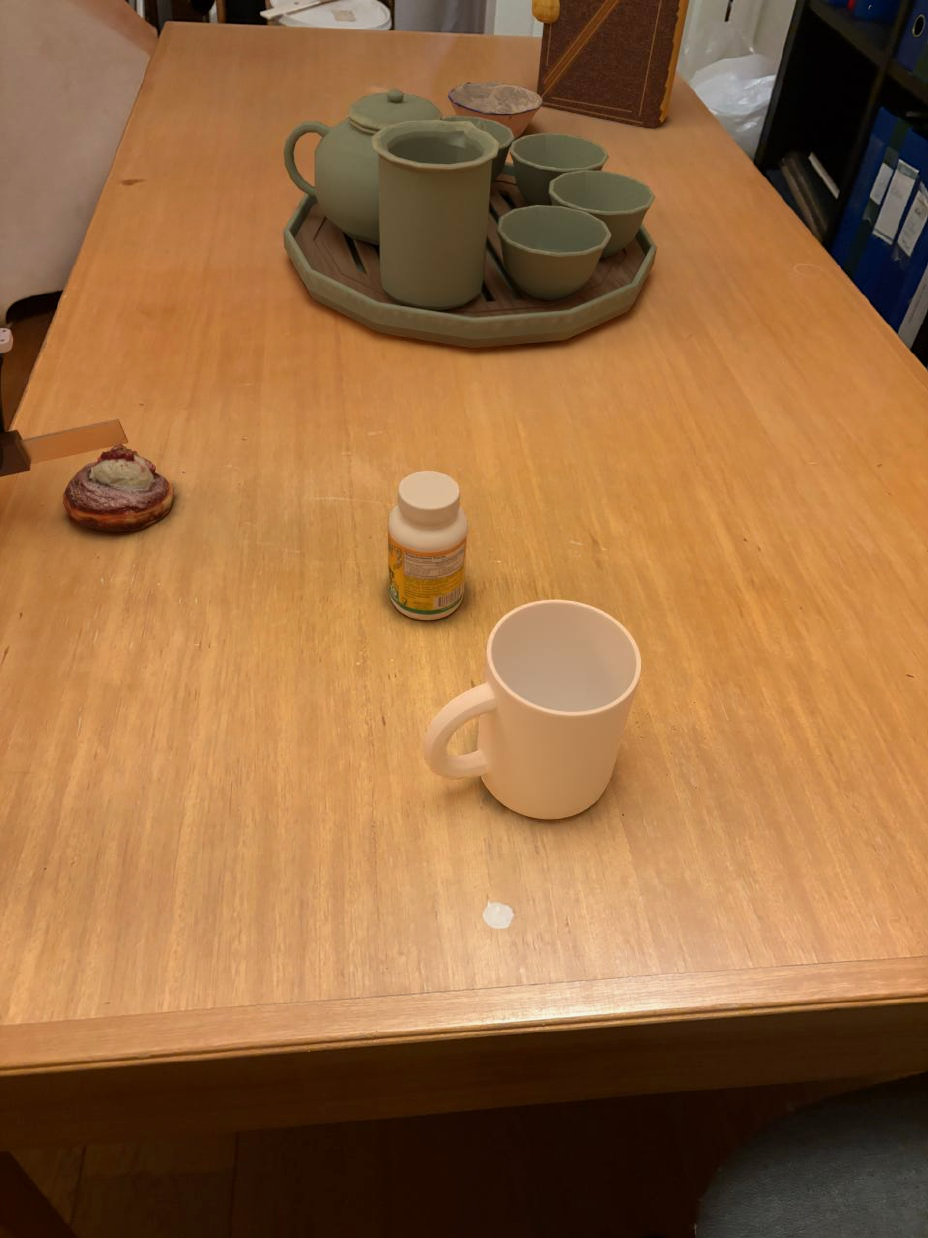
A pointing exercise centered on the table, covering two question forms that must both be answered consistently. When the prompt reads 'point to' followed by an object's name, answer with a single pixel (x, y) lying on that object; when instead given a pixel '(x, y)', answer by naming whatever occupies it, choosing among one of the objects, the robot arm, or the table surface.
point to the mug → (544, 709)
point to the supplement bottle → (427, 546)
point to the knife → (57, 445)
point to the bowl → (497, 103)
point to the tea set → (464, 227)
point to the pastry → (118, 492)
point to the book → (610, 57)
